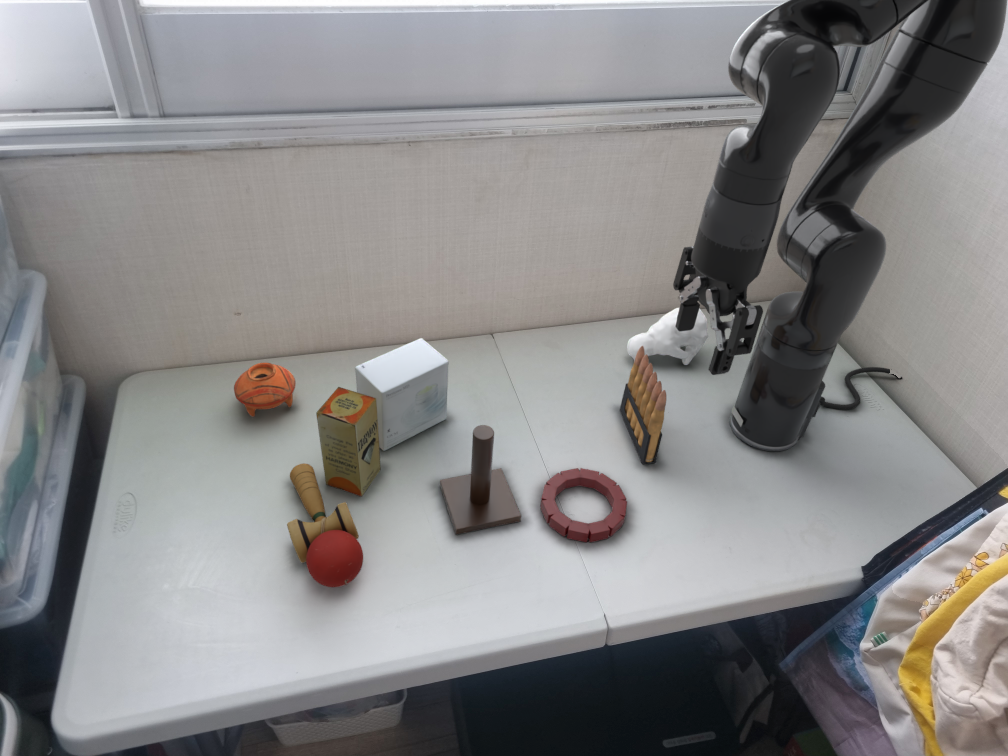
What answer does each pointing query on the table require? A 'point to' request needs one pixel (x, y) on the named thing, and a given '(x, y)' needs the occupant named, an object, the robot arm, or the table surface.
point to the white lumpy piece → (671, 338)
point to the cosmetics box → (405, 390)
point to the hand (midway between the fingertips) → (700, 350)
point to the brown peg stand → (480, 490)
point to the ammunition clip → (644, 408)
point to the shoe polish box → (349, 440)
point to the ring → (576, 528)
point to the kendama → (324, 534)
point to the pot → (264, 387)
